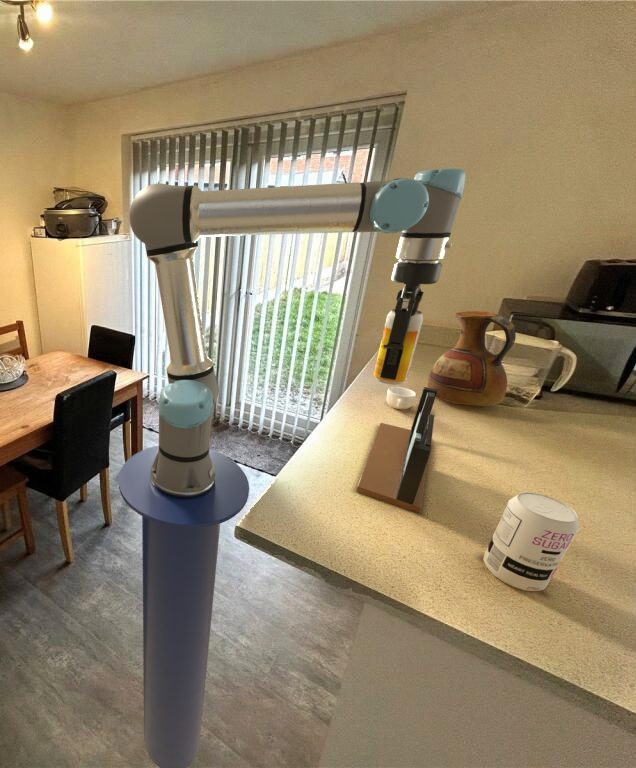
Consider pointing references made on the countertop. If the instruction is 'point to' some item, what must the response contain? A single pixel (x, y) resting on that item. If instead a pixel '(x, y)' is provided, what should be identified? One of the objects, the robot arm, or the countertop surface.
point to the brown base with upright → (398, 463)
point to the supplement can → (531, 540)
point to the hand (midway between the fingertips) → (390, 372)
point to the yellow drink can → (407, 350)
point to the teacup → (400, 397)
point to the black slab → (420, 423)
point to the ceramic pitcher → (473, 363)
